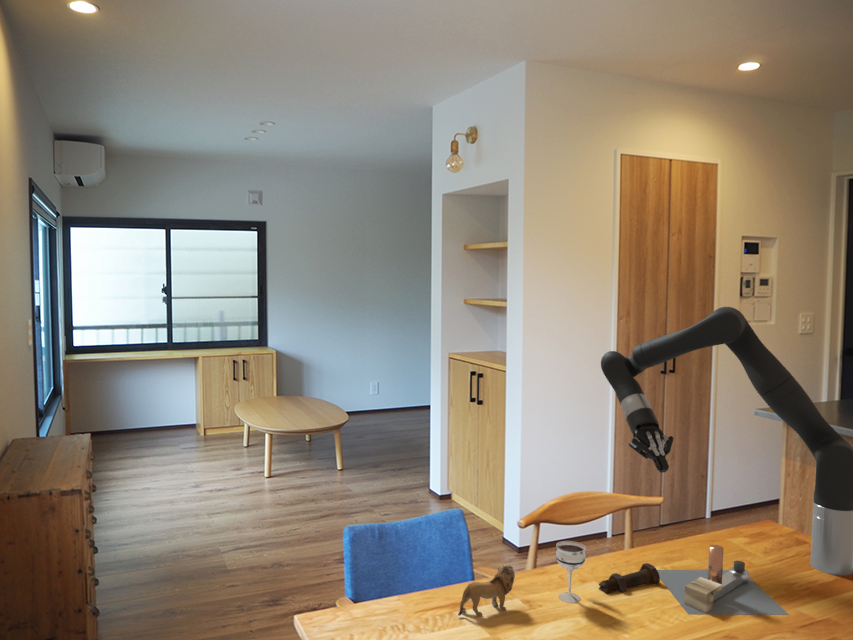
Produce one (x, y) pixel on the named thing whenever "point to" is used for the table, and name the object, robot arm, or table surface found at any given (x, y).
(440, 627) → the table surface
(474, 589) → the lion figurine
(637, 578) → the bolt
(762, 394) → the robot arm
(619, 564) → the table surface
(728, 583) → the link
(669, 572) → the board
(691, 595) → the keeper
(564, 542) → the wineglass
